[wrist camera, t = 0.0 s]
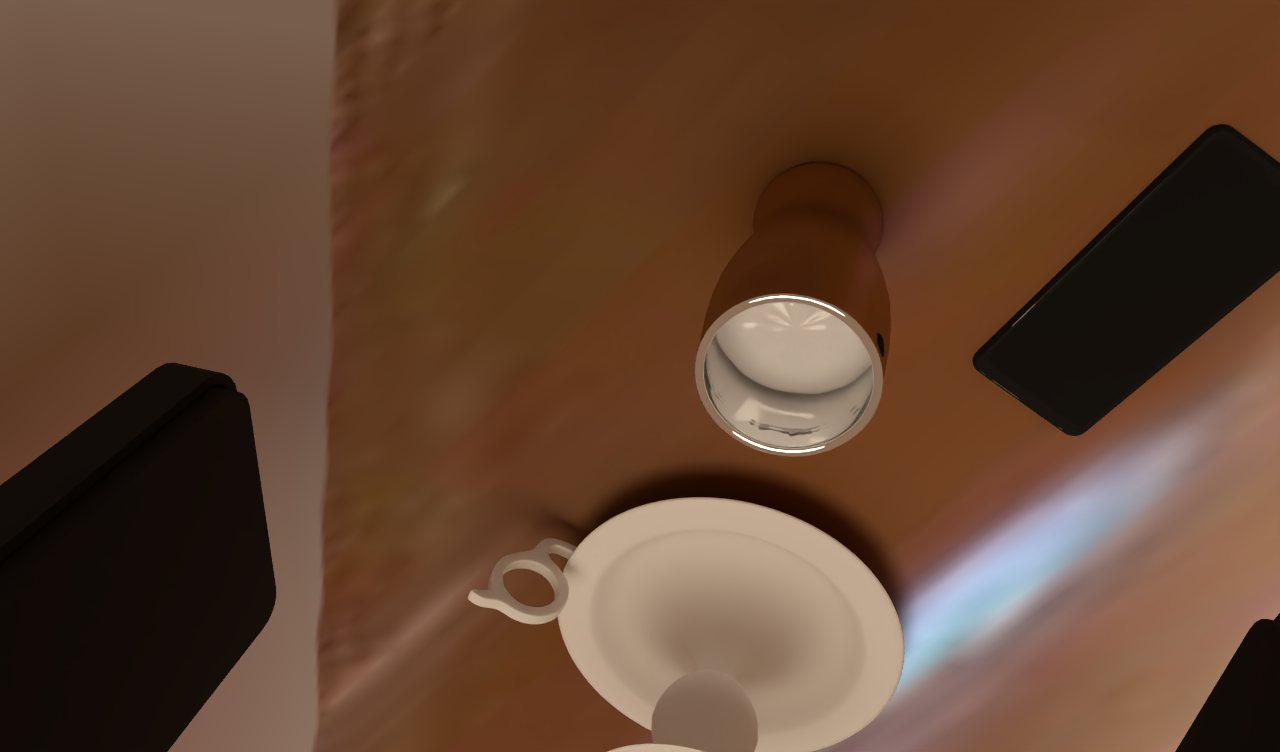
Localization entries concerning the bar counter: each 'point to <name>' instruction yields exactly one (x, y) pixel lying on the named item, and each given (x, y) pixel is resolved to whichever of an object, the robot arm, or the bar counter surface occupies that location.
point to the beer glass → (800, 318)
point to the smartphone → (1144, 284)
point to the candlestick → (719, 625)
